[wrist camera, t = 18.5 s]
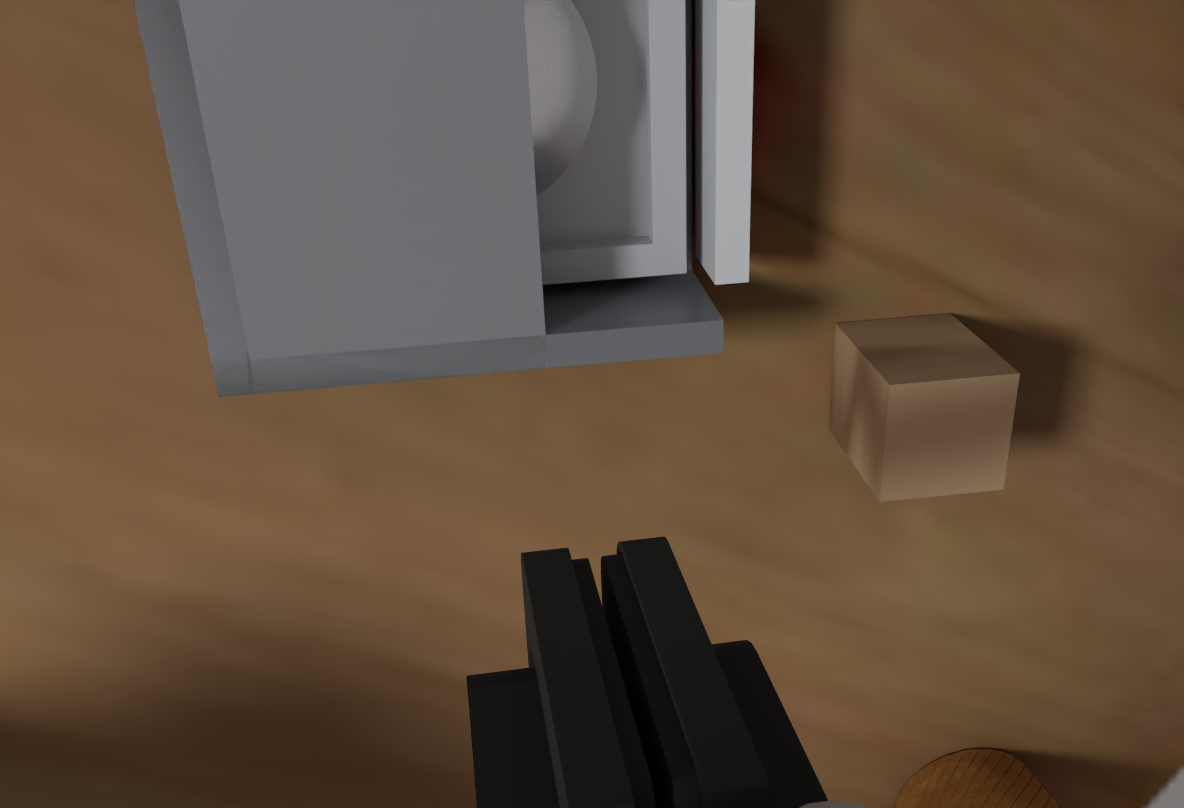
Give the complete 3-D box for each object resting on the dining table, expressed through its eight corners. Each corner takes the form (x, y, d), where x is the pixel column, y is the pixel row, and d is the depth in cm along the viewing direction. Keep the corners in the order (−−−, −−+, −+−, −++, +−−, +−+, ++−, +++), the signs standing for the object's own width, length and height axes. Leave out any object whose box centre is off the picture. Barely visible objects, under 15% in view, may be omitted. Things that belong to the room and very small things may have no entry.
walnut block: (938, 418, 38) (1003, 489, 34) (829, 429, 38) (879, 502, 34) (950, 313, 37) (1020, 373, 32) (835, 323, 36) (889, 385, 32)
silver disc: (597, 187, 32) (606, 205, 30) (357, 210, 31) (351, 231, 29) (580, -73, 29) (589, -70, 27) (313, -52, 28) (303, -48, 26)
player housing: (688, 292, 35) (723, 352, 31) (249, 329, 34) (218, 397, 29) (686, -242, 29) (730, -266, 24) (141, -222, 27) (81, -242, 23)
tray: (739, 251, 34) (762, 281, 32) (286, 287, 33) (272, 320, 30) (746, -182, 29) (775, -188, 26) (208, -159, 28) (183, -163, 25)
